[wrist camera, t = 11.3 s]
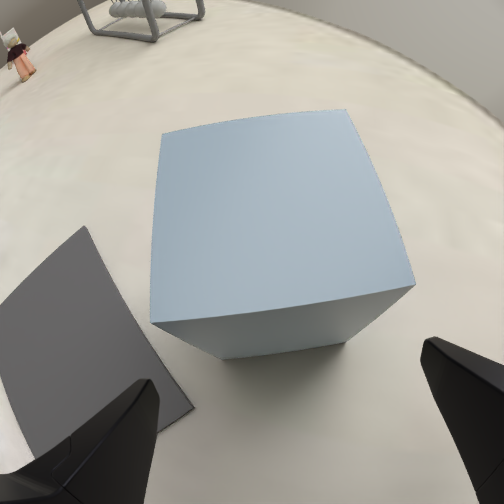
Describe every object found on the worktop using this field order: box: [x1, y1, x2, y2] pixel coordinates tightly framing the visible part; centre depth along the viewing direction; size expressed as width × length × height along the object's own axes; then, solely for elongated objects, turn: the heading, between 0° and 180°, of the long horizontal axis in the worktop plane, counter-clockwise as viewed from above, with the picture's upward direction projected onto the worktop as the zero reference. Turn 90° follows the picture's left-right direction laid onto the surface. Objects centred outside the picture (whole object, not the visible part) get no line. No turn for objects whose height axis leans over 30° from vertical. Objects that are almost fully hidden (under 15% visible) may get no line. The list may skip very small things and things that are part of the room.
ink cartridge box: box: [0, 28, 27, 55], centre depth 50 cm, size 9×5×15 cm, turn 42°
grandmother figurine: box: [4, 34, 36, 82], centre depth 38 cm, size 8×4×13 cm, turn 3°
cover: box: [150, 109, 416, 360], centre depth 13 cm, size 7×7×10 cm
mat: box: [0, 226, 195, 459], centre depth 17 cm, size 16×14×1 cm
